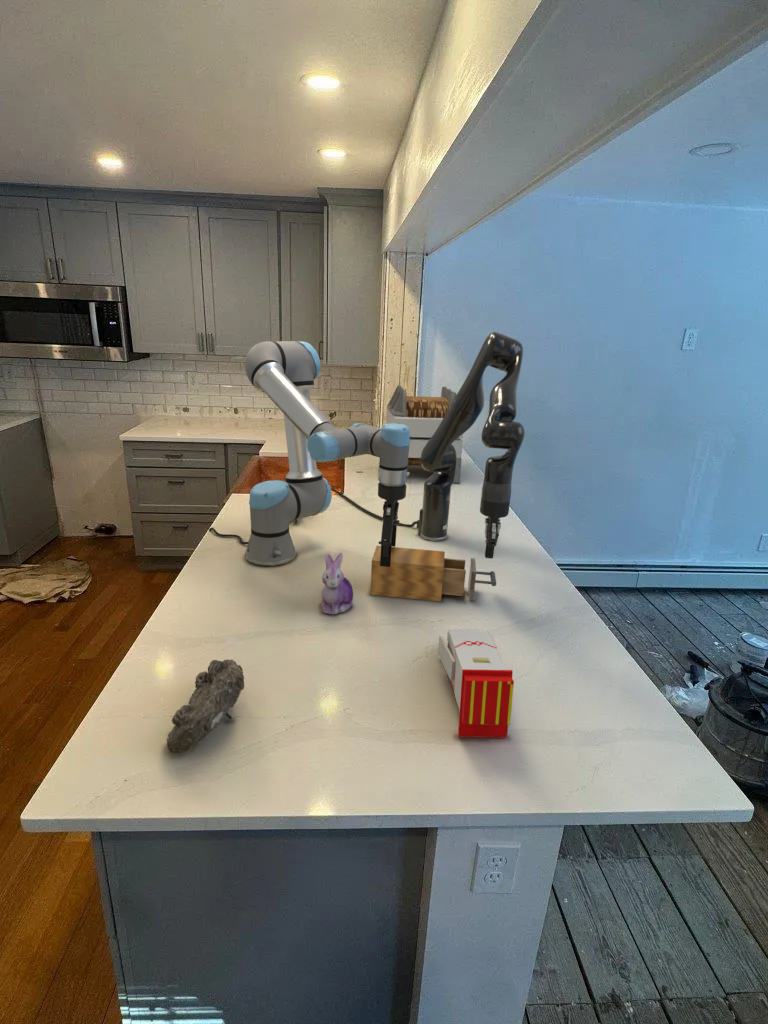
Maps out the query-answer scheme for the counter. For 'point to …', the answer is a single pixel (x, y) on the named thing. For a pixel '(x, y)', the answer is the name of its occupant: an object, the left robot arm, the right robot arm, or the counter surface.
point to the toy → (478, 682)
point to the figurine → (335, 587)
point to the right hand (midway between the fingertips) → (488, 557)
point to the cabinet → (409, 574)
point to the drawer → (462, 577)
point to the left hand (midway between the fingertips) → (388, 555)
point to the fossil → (206, 705)
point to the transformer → (422, 421)
